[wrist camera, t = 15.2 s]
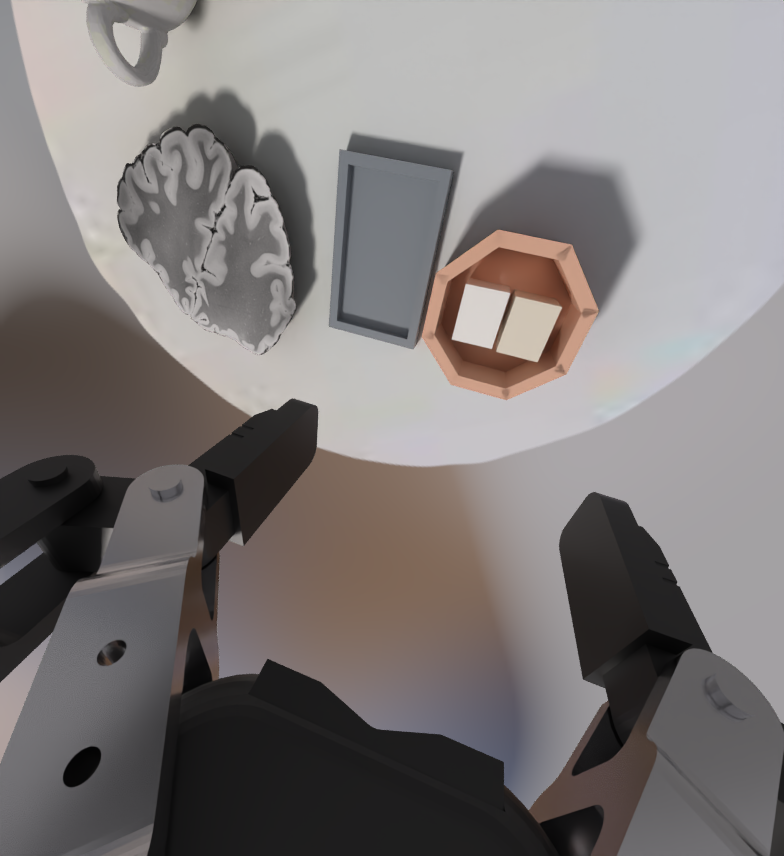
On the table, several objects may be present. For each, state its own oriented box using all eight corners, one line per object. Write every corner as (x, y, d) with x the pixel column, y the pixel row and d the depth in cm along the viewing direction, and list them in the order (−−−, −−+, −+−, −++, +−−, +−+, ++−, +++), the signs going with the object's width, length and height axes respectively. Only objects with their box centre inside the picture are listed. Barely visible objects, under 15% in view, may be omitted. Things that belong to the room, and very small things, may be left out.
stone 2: (514, 289, 27) (516, 296, 24) (555, 298, 27) (562, 307, 24) (496, 339, 30) (496, 351, 27) (533, 348, 29) (537, 362, 26)
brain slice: (347, 237, 30) (334, 238, 27) (275, 366, 39) (260, 375, 37) (165, 70, 27) (132, 54, 25) (135, 251, 37) (109, 253, 34)
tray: (345, 152, 26) (339, 149, 25) (453, 172, 25) (451, 170, 24) (333, 323, 34) (328, 326, 33) (415, 345, 33) (413, 349, 32)
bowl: (455, 220, 27) (448, 218, 23) (608, 252, 25) (627, 256, 21) (423, 357, 33) (413, 374, 29) (541, 389, 32) (547, 411, 28)
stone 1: (469, 277, 28) (465, 283, 25) (509, 286, 27) (510, 293, 24) (456, 328, 30) (451, 339, 27) (492, 337, 30) (491, 349, 27)
